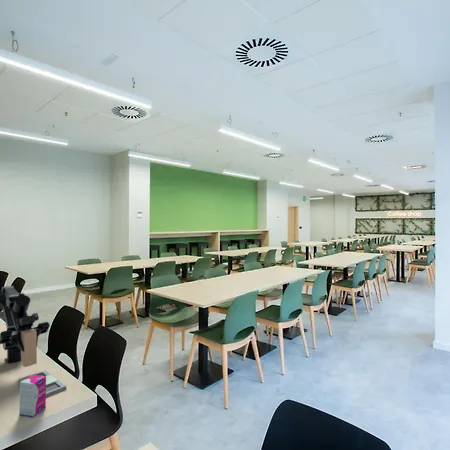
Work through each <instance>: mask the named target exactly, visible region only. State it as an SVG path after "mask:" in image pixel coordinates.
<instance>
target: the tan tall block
mask: <svg viewBox="0 0 450 450" xmlns="http://www.w3.org/2000/svg"><path fill="white" fill-rule="evenodd" d="M21 341H22V344H23V346H24V352H23V351H21V360H20V363H21V366H23V367H24V368H26V367H30V366H33V365H37V364H38V362H37V358H38V357H37V355H38V354H37V353H38V352H37V351H38V349H37V348H38V342H37V332H36V331H35V330H33V329H30V330H26V331H22V332H21Z"/></svg>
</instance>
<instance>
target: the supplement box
mask: <svg viewBox="0 0 450 450" xmlns="http://www.w3.org/2000/svg"><path fill="white" fill-rule="evenodd" d="M31 375H32V376H30V375H29V376H30V377H28V378H26V379H25V380H23V381H21V382H19V405H18V407H19V411H18V412H19V414H18V415H19V416H20V417H27V418H34V417H35V416H37V415H38V414H39V413H42V411H43V410H45V409H46V402H47V401H46V400H47V397H46V376H38V375H33V374H31Z"/></svg>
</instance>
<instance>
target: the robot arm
mask: <svg viewBox="0 0 450 450" xmlns="http://www.w3.org/2000/svg"><path fill="white" fill-rule="evenodd" d="M30 303H31V298H30V297H29V296H28V295H25V293H24V292H18V291H17V290H16V289H15V285H7V286H2V287H1V290H0V310H2V313H3V317H4V321H5V326H6V330H5V331H4V330H3V331H1V332H0V345H2V348H3V350H4V351H6V353H7V354H6V355H7V356H6V357H5V358H4V361H5V362H6V363H7V364H12V363H15V362H18V361H21V351H23V352H24V346H23V344H22V341H21V332H22V331H26V330H30V329H33V330H35V331H36V332H37V343H38V342H39V341H38V339H39V336H40V335H43V334H46V333H47V332H48V331H49V328H50V327H51V326H50V322H48V321H42V322H39V323H38V324H37V326H34V323H36V321H38V320H39V313H38V312H35V313H32V314H31V315H29V314H28V313H27V311H28V309H29V306H30Z"/></svg>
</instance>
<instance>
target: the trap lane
mask: <svg viewBox="0 0 450 450" xmlns="http://www.w3.org/2000/svg"><path fill="white" fill-rule="evenodd" d="M32 375H38V376H46V398H47V397H50V396H51V395H54V394H57V393H60V392H62V391H64V390H67V385H66V384H64V383H63V382H62V381H60V380H59V379H58V378H56V377H55V376H54V375H52V374H51V373H50V372H48V371H47V370H46V369H45V370H42V371H39V372H36V373H34V374H30V375H27V376H25V377H21V378H19V379H18V382H19V383H20V382H21V381H23V380H25V379H26V378H28V377H30V376H32Z"/></svg>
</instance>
